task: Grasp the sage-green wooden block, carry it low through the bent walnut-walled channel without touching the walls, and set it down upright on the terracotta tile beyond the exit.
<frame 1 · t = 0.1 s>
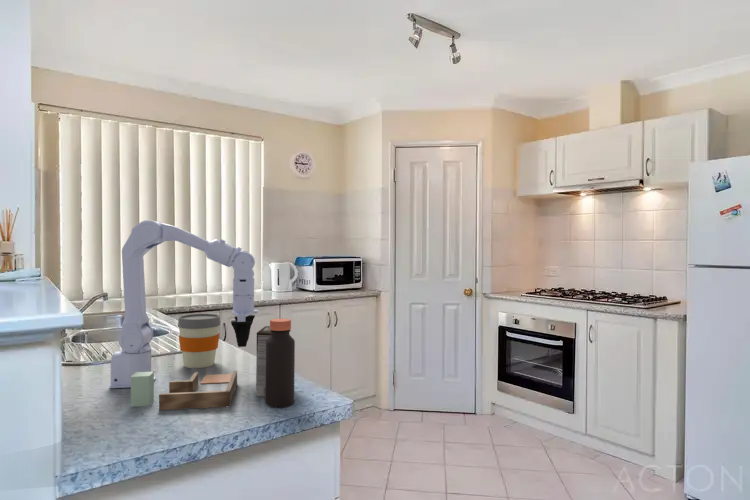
hand: (243, 343, 135), 10 cm above the counter, fingers open, 7 cm apart
bottle: (279, 404, 116), on the counter
channel: (192, 392, 124), on the counter
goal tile: (218, 379, 135), on the counter
reusable coffee cup: (199, 365, 152), on the counter
coffee box: (272, 392, 125), on the counter
sage block: (142, 403, 115), on the counter
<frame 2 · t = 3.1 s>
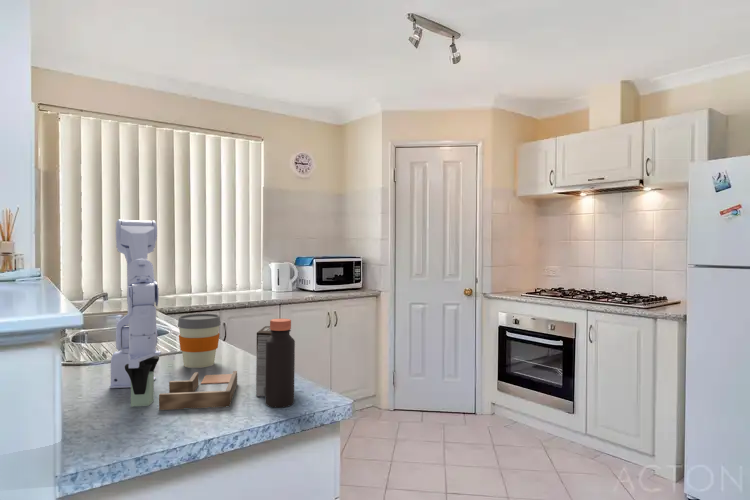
hand: (142, 391, 115), 3 cm above the counter, fingers closed on sage block, 4 cm apart
sage block: (142, 403, 115), on the counter, touching gripper
everything else where it was.
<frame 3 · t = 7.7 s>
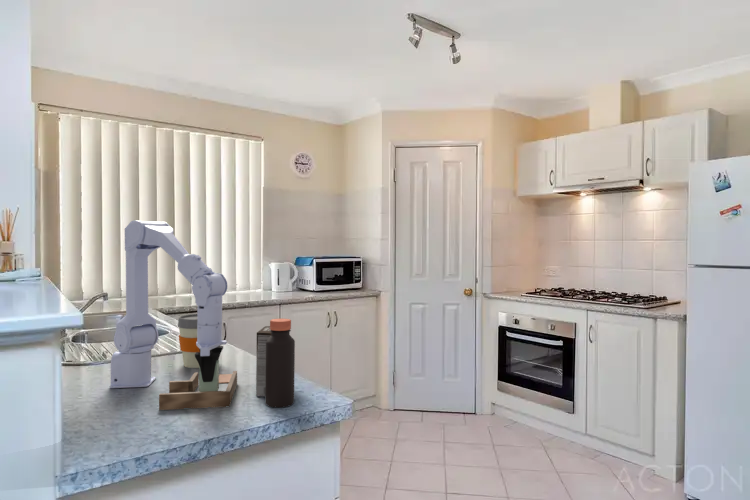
hand: (209, 378, 119), 5 cm above the counter, fingers closed on sage block, 4 cm apart
sage block: (209, 390, 119), point 2 cm above the counter, touching gripper
everything else where it was.
when the fingers open (4 cm above the counter, at t = 12.2 s): sage block stays where it is, resting on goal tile.
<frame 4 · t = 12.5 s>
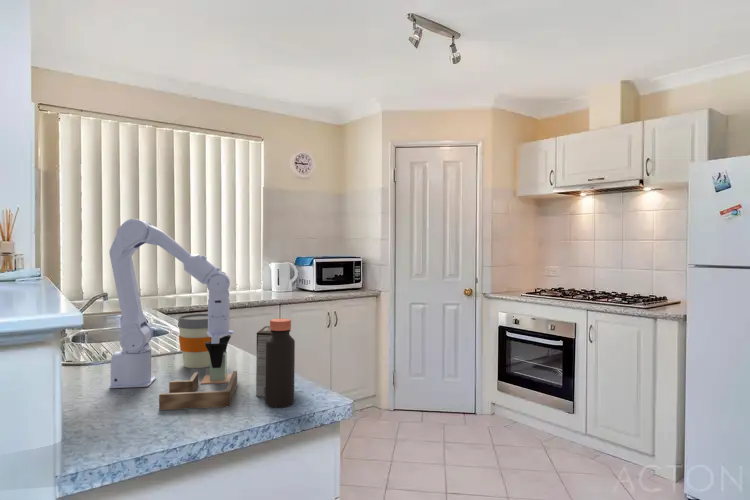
hand: (218, 364, 135), 4 cm above the counter, fingers open, 7 cm apart
sage block: (218, 378, 135), resting on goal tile
everything else where it was.
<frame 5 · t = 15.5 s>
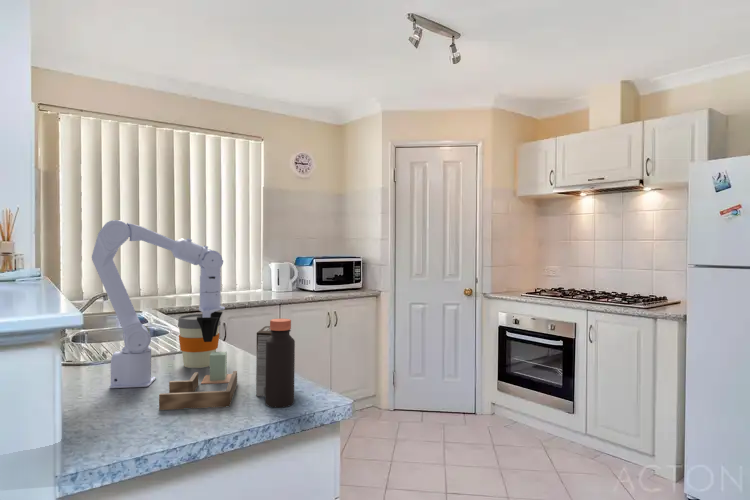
hand: (209, 338, 140), 10 cm above the counter, fingers open, 7 cm apart
nothing on the counter moved.
at the end: sage block 0.0 cm from the target spot, resting on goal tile; sage block tilted 0°; sage block touching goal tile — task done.
